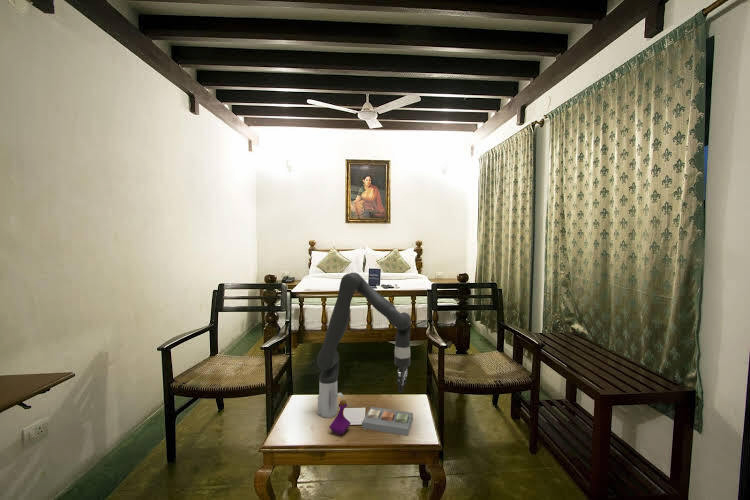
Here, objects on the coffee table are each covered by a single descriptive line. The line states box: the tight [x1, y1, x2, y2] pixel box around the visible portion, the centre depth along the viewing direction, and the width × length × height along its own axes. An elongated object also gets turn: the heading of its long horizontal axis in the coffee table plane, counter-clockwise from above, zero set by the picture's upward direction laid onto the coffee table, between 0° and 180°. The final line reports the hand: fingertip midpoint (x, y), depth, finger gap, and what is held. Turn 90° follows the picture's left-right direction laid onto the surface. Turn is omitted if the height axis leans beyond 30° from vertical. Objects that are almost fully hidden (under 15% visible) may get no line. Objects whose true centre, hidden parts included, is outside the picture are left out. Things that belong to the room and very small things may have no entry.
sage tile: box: [396, 413, 408, 423], centre depth 159 cm, size 5×5×2 cm
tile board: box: [361, 406, 414, 437], centre depth 161 cm, size 22×15×3 cm
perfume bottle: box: [328, 392, 352, 436], centre depth 154 cm, size 8×8×18 cm
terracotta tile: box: [382, 411, 394, 421], centre depth 161 cm, size 5×5×2 cm
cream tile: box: [367, 409, 381, 419], centre depth 163 cm, size 5×5×2 cm
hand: (402, 388), depth 159 cm, fingers open, 8 cm apart
